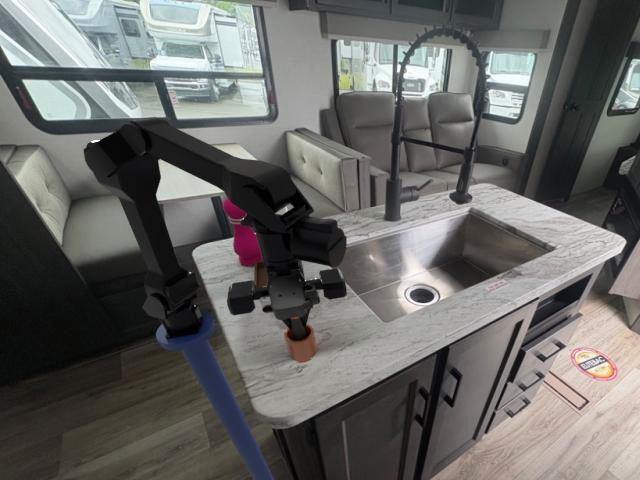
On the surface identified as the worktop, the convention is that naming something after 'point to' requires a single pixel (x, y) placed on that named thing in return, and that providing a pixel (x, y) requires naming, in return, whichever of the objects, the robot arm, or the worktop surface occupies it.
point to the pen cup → (301, 345)
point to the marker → (298, 328)
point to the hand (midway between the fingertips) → (297, 326)
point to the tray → (260, 274)
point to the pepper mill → (242, 236)
